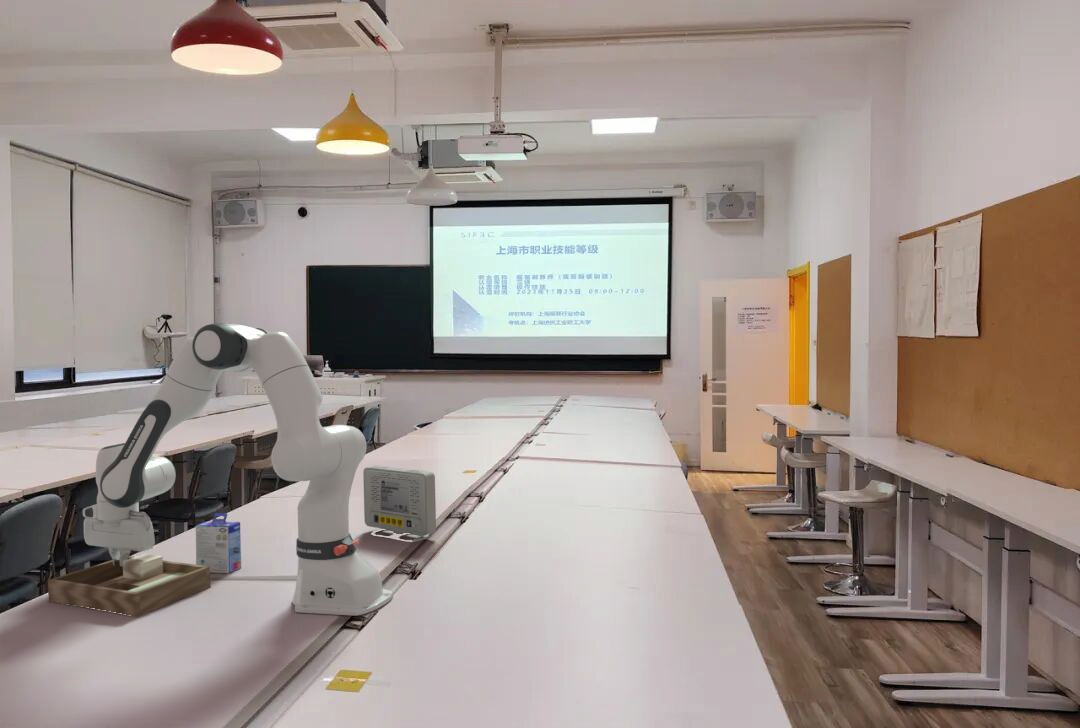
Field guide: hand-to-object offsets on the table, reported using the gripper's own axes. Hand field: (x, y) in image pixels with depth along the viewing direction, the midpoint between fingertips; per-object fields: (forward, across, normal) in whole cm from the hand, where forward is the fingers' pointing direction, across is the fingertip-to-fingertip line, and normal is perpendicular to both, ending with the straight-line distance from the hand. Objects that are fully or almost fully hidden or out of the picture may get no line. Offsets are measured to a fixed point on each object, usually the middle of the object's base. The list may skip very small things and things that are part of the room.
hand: (120, 565), depth 178 cm
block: (+2, -8, 0) cm, 8 cm away
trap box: (+5, -9, +4) cm, 11 cm away
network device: (+5, -41, -60) cm, 73 cm away
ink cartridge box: (+5, -15, -16) cm, 23 cm away
